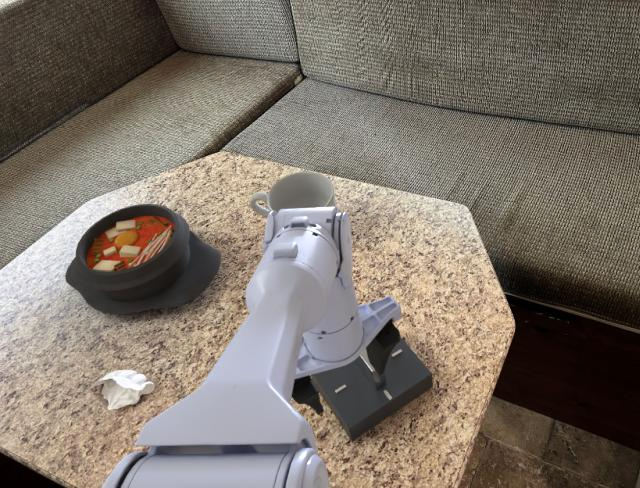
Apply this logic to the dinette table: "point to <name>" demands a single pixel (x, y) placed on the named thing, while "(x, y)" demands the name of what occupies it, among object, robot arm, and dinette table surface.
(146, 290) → the casserole
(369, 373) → the tap handle
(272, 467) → the robot arm
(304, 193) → the teacup
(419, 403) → the dinette table surface
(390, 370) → the block
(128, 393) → the tissue
